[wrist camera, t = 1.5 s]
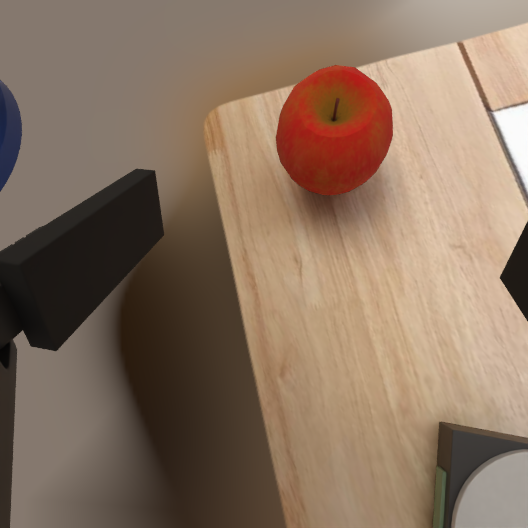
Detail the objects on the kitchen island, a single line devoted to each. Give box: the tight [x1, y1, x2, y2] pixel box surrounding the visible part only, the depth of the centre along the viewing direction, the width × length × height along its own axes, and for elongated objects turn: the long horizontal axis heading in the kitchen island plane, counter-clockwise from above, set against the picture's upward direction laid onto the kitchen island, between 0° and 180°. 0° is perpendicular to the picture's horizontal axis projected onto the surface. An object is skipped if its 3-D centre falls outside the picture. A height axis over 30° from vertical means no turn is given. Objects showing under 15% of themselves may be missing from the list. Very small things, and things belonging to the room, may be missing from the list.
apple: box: [276, 65, 393, 195], centre depth 27 cm, size 9×8×11 cm
